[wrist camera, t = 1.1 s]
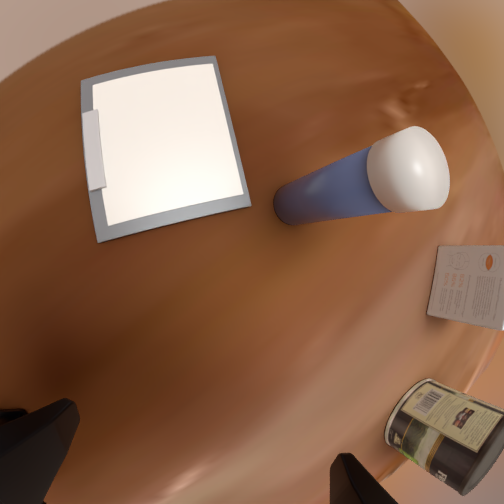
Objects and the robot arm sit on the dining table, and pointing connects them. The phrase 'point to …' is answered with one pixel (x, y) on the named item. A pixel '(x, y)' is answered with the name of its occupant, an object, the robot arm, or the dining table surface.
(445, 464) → the coffee can
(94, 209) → the clipboard
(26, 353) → the dining table surface
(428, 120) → the dining table surface
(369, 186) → the marker
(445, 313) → the small box
